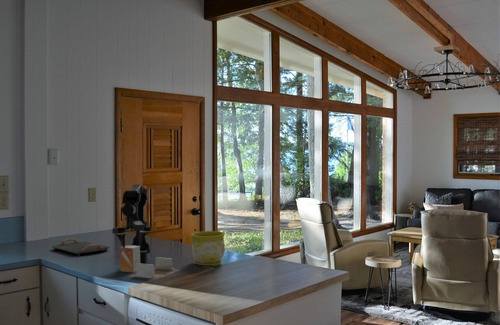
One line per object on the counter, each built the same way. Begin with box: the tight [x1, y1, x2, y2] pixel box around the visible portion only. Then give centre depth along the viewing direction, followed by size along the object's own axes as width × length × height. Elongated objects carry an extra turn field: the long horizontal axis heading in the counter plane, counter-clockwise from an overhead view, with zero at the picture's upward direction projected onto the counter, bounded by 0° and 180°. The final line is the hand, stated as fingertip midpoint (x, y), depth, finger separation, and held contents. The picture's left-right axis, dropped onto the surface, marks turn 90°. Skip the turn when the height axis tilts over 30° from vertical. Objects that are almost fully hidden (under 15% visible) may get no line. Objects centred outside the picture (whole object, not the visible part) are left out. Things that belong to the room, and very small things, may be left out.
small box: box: [119, 244, 140, 273], centre depth 269 cm, size 8×6×13 cm
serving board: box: [51, 238, 110, 257], centre depth 331 cm, size 39×23×6 cm, turn 45°
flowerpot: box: [190, 230, 226, 267], centre depth 282 cm, size 18×18×16 cm
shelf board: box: [129, 266, 181, 280], centre depth 262 cm, size 20×17×1 cm
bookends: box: [133, 256, 176, 279], centre depth 262 cm, size 20×10×6 cm, turn 152°
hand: (132, 247), depth 261 cm, fingers open, 9 cm apart
